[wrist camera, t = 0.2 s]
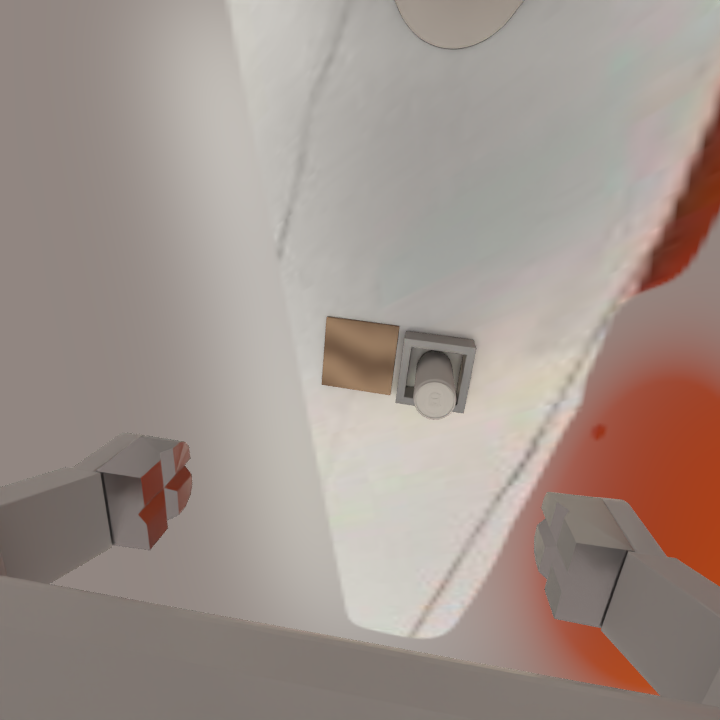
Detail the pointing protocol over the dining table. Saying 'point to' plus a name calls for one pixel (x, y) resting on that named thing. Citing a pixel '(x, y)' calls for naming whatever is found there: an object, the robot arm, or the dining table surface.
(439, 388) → the beverage can
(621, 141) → the dining table surface
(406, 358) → the can holder
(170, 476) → the robot arm
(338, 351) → the coaster
